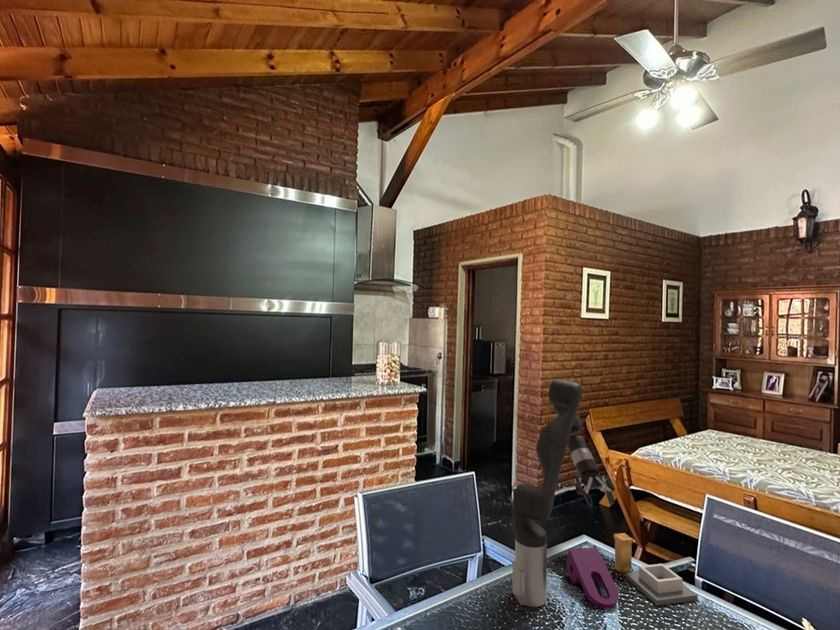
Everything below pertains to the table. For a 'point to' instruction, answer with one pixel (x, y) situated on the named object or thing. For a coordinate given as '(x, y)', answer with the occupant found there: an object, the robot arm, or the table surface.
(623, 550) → the locking wedge
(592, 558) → the mounting bracket
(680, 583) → the socket plate
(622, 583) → the table surface
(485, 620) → the table surface
